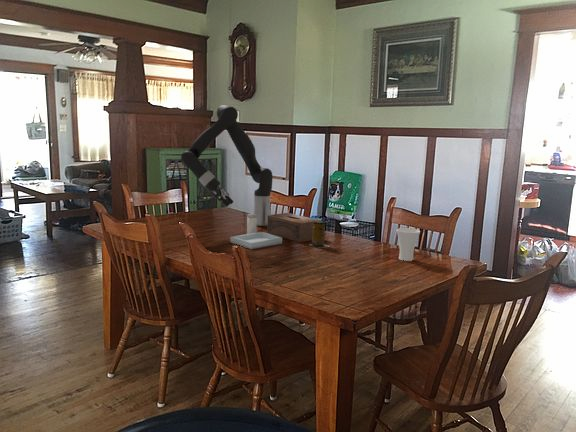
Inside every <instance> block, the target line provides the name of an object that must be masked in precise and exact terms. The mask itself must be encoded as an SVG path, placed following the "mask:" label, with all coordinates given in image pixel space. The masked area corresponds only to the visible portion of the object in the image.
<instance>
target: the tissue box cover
mask: <svg viewBox="0 0 576 432" xmlns="http://www.w3.org/2000/svg"><path fill="white" fill-rule="evenodd" d="M315 221H322V220H320V219H316V218H313V217H312V218H311V217H307V216H302V215H299V214H295V213H289V212H282V213H275V214H271V215H268V218H267V225H266V227H267V228H266V233H267V234H271V235H275V236H278V237H282V238H284V239H289V240H291V241H294V240H295V242H299V243H302V242H308V241H312V236H313V227H314V222H315Z"/></svg>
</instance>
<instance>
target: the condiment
mask: <svg viewBox="0 0 576 432" xmlns="http://www.w3.org/2000/svg"><path fill="white" fill-rule="evenodd" d="M325 233H326V228H325V222H324V221H323V220H321V221H315V222H314V227H313V236H312V240H311V241H312V242H311V243H309V244H308V245H309V246H311V247H315V248H319V249H323V248H330V247H331V246H330V245H328V244H325V239H326V238H325V236H326V235H325Z"/></svg>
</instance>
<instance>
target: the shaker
mask: <svg viewBox="0 0 576 432" xmlns="http://www.w3.org/2000/svg"><path fill="white" fill-rule="evenodd" d="M246 219H247V220H246V221H247V222H246V223H247V224H246V234H251V233H257V228H258V227H257V226H258V225H257V214H254V213H248V214H247V218H246Z"/></svg>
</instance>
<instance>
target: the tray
mask: <svg viewBox="0 0 576 432" xmlns="http://www.w3.org/2000/svg"><path fill="white" fill-rule="evenodd" d="M230 244H233V245H236V244H237V245H236V246H239V245H240V246H241V247H242V246H243V248H246V249H249V250H254V249H260V248H265V247H269V246H270V247H272V246H276V245H281V244H283V237H280V236H277V235H273V234H269V233H267V232H264V231H258V232H256V233H251V234H247V233H246V234H240V235H239V234H238V235H235V236H234V235H233V236H230ZM240 246H239V247H240Z"/></svg>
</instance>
